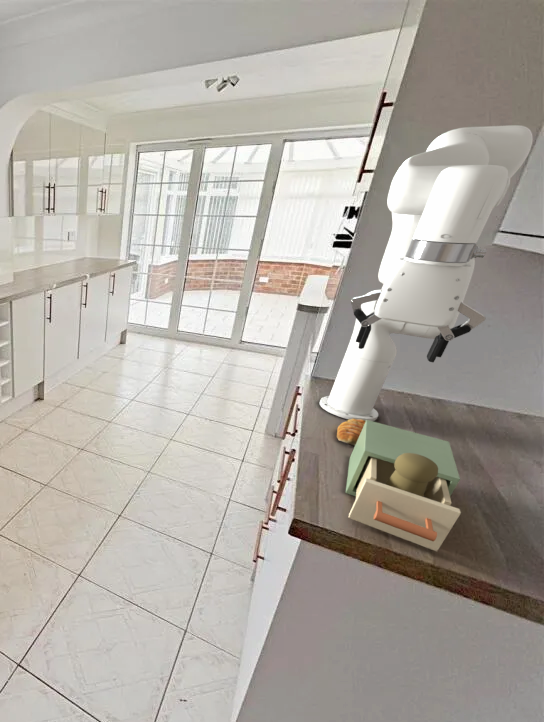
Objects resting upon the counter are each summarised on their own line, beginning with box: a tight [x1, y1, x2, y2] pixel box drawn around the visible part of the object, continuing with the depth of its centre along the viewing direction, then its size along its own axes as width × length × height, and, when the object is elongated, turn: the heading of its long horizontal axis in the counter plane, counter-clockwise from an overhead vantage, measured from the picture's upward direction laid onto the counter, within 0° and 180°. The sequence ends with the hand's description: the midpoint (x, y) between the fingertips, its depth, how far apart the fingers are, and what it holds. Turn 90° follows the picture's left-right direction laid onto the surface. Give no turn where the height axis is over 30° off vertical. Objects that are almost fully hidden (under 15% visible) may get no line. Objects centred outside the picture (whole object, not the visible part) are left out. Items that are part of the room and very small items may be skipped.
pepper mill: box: [385, 453, 438, 497], centre depth 68 cm, size 6×6×11 cm
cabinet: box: [345, 420, 461, 497], centre depth 77 cm, size 15×13×10 cm
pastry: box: [336, 419, 366, 447], centre depth 94 cm, size 9×7×4 cm
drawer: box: [348, 456, 462, 552], centre depth 68 cm, size 18×11×8 cm, turn 142°
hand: (394, 353), depth 72 cm, fingers open, 9 cm apart
